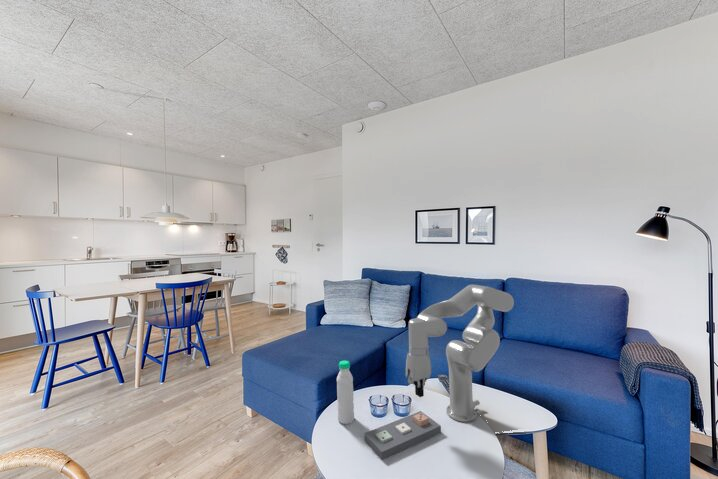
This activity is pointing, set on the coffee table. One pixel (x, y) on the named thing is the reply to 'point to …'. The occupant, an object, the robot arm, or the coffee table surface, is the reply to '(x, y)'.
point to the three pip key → (420, 419)
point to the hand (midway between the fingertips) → (419, 395)
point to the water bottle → (345, 394)
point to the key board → (401, 436)
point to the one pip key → (403, 428)
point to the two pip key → (383, 436)
